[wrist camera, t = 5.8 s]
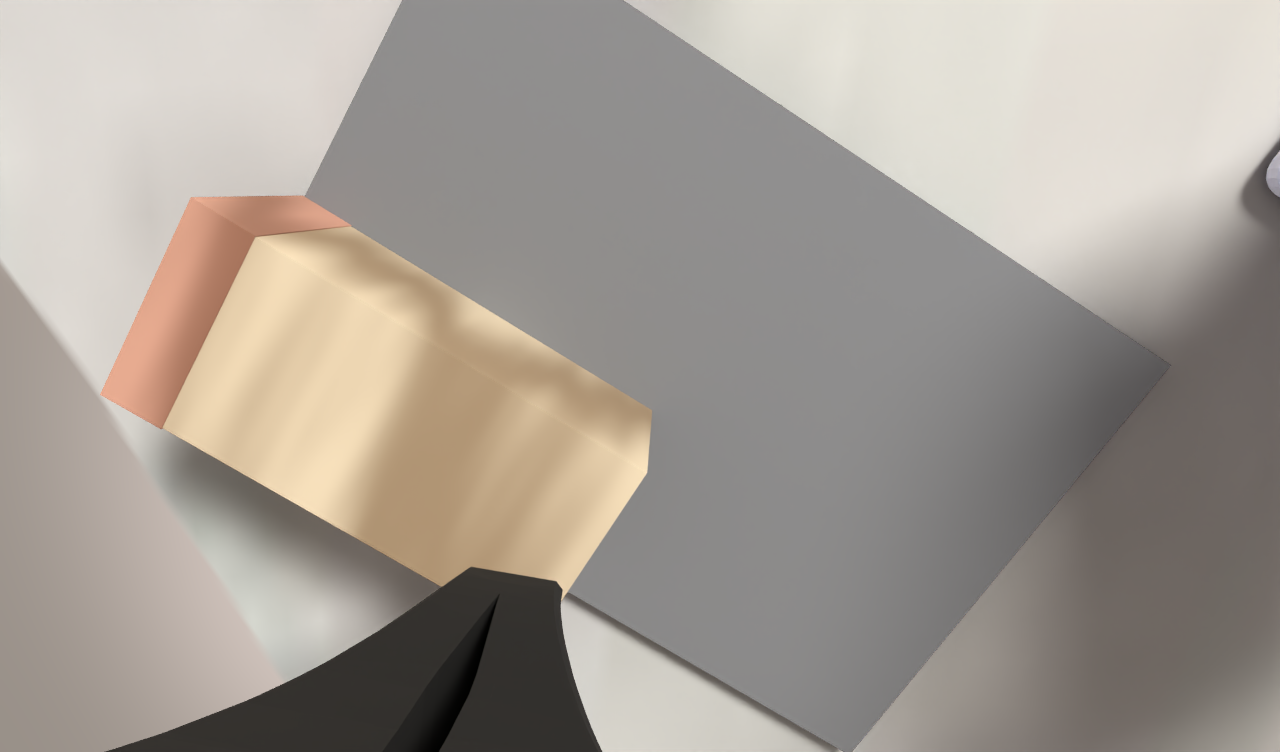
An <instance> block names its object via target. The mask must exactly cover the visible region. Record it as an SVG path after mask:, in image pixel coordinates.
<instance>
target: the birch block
mask: <svg viewBox="0 0 1280 752" xmlns="http://www.w3.org/2000/svg"><path fill="white" fill-rule="evenodd" d="M351 226H352V225H350V224H349V223H347V222H345V221H344V220H342V219H340V218H339V217H337V216H336V215H334V214H332V213H331V212H329V211H327V210H326V209H324V208H322V207H321V206H319V205H318V204H316V203H314V202H313V201H311V200H309V199H308V198H306V197H304V196H247V197H191V198H190V201H189V203H188V205H187V207H186V209H185V211H184V214H183V216H182V218H181V220H180V222H179V225H178V227H177V229H176V231H175V233H174V235H173V238H172V240H171V242H170V244H169V246H168V248H167V251H166V253H165V255H164V257H163V259H162V261H161V264H160V266H159V268H158V270H157V272H156V274H155V277H154V279H153V281H152V283H151V285H150V288H149V290H148V292H147V294H146V296H145V298H144V301H143V303H142V305H141V307H140V309H139V311H138V314H137V316H136V318H135V320H134V322H133V324H132V327H131V329H130V331H129V333H128V335H127V337H126V340H125V342H124V344H123V346H122V348H121V351H120V353H119V355H118V357H117V359H116V361H115V364H114V366H113V368H112V370H111V372H110V374H109V377H108V379H107V381H106V383H105V385H104V387H103V390H102V392H101V394H100V395H102V396H104V397H105V398H107V399H109V400H111V401H112V402H114V403H116V404H118V405H119V406H121V407H123V408H125V409H126V410H128V411H130V412H132V413H133V414H135V415H137V416H139V417H141V418H142V419H144V420H146V421H148V422H149V423H151V424H153V425H155V426H156V427H158V428H160V429H165V430H167V431H168V432H170V433H172V434H174V435H175V436H177V437H179V438H181V439H182V440H184V441H186V442H188V443H190V444H191V445H193V446H195V447H197V448H198V449H200V450H202V451H204V452H205V453H207V454H209V455H211V456H212V457H214V458H216V459H218V460H219V461H221V462H223V463H225V464H226V465H228V466H230V467H232V468H233V469H235V470H237V471H239V472H240V473H242V474H244V475H246V476H247V477H249V478H251V479H253V480H255V481H256V482H258V483H260V484H262V485H263V486H265V487H267V488H269V489H270V490H272V491H274V492H276V493H277V494H279V495H281V496H283V497H284V498H286V499H288V500H290V501H291V502H293V503H295V504H297V505H298V506H300V507H302V508H304V509H305V510H307V511H309V512H311V513H313V514H314V515H316V516H318V517H320V518H321V519H323V520H325V521H327V522H328V523H330V524H332V525H334V526H335V527H337V528H339V529H341V530H342V531H344V532H346V533H348V534H349V535H351V536H353V537H355V538H356V539H358V540H360V541H362V542H363V543H365V544H367V545H369V546H371V547H372V548H374V549H376V550H378V551H379V552H381V553H383V554H385V555H386V556H388V557H390V558H392V559H393V560H395V561H397V562H399V563H400V564H402V565H404V566H406V567H407V568H409V569H411V570H413V571H414V572H416V573H418V574H420V575H421V576H423V577H425V578H427V579H428V580H430V581H432V582H434V583H436V584H437V585H439V586H441V587H442V586H444V585H445V584H447V583H448V582H449V581H451V580H452V579H453V578H455V577H456V576H458V575H459V574H461V573H462V572H464V571H465V570H467V569H468V568H470V567H476V568H482V569H488V570H494V571H500V572H506V573H512V574H518V575H524V576H529V577H535V578H541V579H547V580H553V581H557V583H558V584H559V585H560V587H561V588H562V590H563V592H562V599H563V598H564V596H565V595H566V593H567V592H568V590H569V589H570V587H571V586H572V584H573V583H574V581H575V580H576V578H577V577H578V575H579V574H580V572H581V571H582V569H583V568H584V566H585V565H586V563H587V562H588V560H589V559H590V558H591V556H592V555H593V553H594V552H595V550H596V549H597V547H598V546H599V544H600V543H601V541H602V540H603V538H604V537H605V535H606V534H607V532H608V531H609V529H610V528H611V526H612V525H613V523H614V522H615V520H616V519H617V517H618V516H619V514H620V513H621V511H622V510H623V508H624V507H625V505H626V504H627V502H628V501H629V499H630V498H631V496H632V495H633V493H634V492H635V490H636V489H637V487H638V486H639V484H640V483H641V481H642V480H643V478H644V477H645V475H646V474H647V469H648V456H649V444H650V432H651V420H652V410H651V409H649V408H648V407H646V406H644V405H643V404H641V403H639V402H638V401H636V400H634V399H633V398H631V397H630V396H628V395H626V394H625V393H623V392H621V391H620V390H618V389H616V388H615V387H613V386H612V385H610V384H608V383H607V382H605V381H603V380H602V379H600V378H598V377H597V376H595V375H594V374H592V373H590V372H589V371H587V370H585V369H584V368H582V367H580V366H579V365H577V364H576V363H574V362H572V361H571V360H569V359H567V358H566V357H564V356H562V355H561V354H559V353H558V352H556V351H554V350H553V349H551V348H549V347H548V346H546V345H544V344H543V343H541V342H540V341H538V340H536V339H535V338H533V337H531V336H530V335H528V334H526V333H525V332H523V331H522V330H520V329H518V328H517V327H515V326H513V325H512V324H510V323H508V322H507V321H505V320H504V319H502V318H500V317H499V316H497V315H495V314H494V313H492V312H490V311H489V310H487V309H486V308H484V307H482V306H481V305H479V304H477V303H476V302H474V301H472V300H471V299H469V298H468V297H466V296H464V295H463V294H461V293H459V292H458V291H456V290H454V289H453V288H451V287H450V286H448V285H446V284H445V283H443V282H441V281H440V280H438V279H436V278H435V277H433V276H432V275H430V274H428V273H427V272H425V271H423V270H422V269H420V268H418V267H417V266H415V265H414V264H412V263H410V262H409V261H407V260H405V259H404V258H402V257H400V256H399V255H397V254H396V253H394V252H392V251H391V250H389V249H387V248H386V247H384V246H382V245H381V244H379V243H378V242H376V241H374V240H373V239H371V238H369V237H368V236H366V235H364V234H363V233H361V232H360V231H358V230H356V229H355V228H353V227H351ZM562 599H561V601H562Z"/></svg>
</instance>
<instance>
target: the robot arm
mask: <svg viewBox="0 0 1280 752" xmlns="http://www.w3.org/2000/svg"><path fill="white" fill-rule="evenodd" d="M1266 181H1267V184H1268V187H1269V189H1270V190H1271V191H1272V192H1273V193H1274V194H1275V195H1277V196H1278V197H1279V198H1280V151H1279V152H1278V153H1277V155H1276V156H1275V157H1274V158H1273V160H1272V161H1271V163H1270V165H1269V167H1268V169H1267V174H1266ZM562 592H563V590H562V588H561V587H560V585H559V584H558V583H557V581H553V580H547V579H541V578H535V577H529V576H524V575H518V574H512V573H506V572H500V571H494V570H488V569H482V568H476V567H470V568H468V569H467V570H465V571H464V572H462V573H461V574H459V575H458V576H456V577H455V578H453V579H452V580H451V581H449V582H448V583H447V584H445V585H444V586H442V587H441V588H440V589H438V590H437V591H436V592H434V593H433V594H431V595H430V596H429V597H427V598H426V599H424V600H423V601H422V602H420V603H419V604H417V605H416V606H415V607H413V608H412V609H410V610H409V611H407V612H406V613H404V614H403V615H401V616H400V617H398V618H397V619H396V620H394V621H393V622H391V623H390V624H388V625H387V626H385V627H384V628H382V629H381V630H379V631H378V632H376V633H374V634H373V635H371V636H369V637H368V638H366V639H364V640H363V641H361V642H359V643H358V644H356V645H354V646H353V647H351V648H349V649H348V650H346V651H344V652H343V653H341V654H339V655H338V656H336V657H334V658H333V659H331V660H329V661H327V662H326V663H324V664H322V665H320V666H318V667H316V668H314V669H312V670H310V671H308V672H307V673H305V674H303V675H301V676H299V677H297V678H295V679H293V680H290V681H288V682H286V683H284V684H282V685H280V686H278V687H276V688H274V689H271V690H269V691H267V692H265V693H263V694H261V695H259V696H256V697H254V698H252V699H249V700H247V701H245V702H242V703H240V704H237V705H235V706H232V707H229V708H227V709H224V710H222V711H219V712H217V713H214V714H211V715H209V716H206V717H204V718H201V719H199V720H196V721H193V722H191V723H188V724H186V725H183V726H180V727H178V728H175V729H173V730H170V731H168V732H165V733H162V734H159V735H156V736H153V737H150V738H147V739H144V740H141V741H138V742H134V743H131V744H128V745H125V746H122V747H119V748H116V749H113V750H109V751H106V752H602V750H601V748H600V746H599V744H598V742H597V740H596V737H595V735H594V733H593V730H592V728H591V725H590V723H589V720H588V718H587V715H586V713H585V710H584V707H583V704H582V701H581V698H580V696H579V693H578V690H577V687H576V683H575V680H574V677H573V673H572V669H571V665H570V661H569V657H568V653H567V649H566V645H565V640H564V635H563V628H562V620H561V599H562Z"/></svg>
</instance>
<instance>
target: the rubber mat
mask: <svg viewBox="0 0 1280 752" xmlns="http://www.w3.org/2000/svg"><path fill="white" fill-rule="evenodd" d="M305 197H306V198H308V199H309V200H311V201H313V202H314V203H316V204H318V205H319V206H321V207H322V208H324V209H326V210H327V211H329V212H331V213H332V214H334V215H336V216H337V217H339V218H340V219H342V220H344V221H345V222H347V223H349V224H350V225H352V226H351V227H353V228H355V229H356V230H358V231H360V232H361V233H363V234H364V235H366V236H368V237H369V238H371V239H373V240H374V241H376V242H378V243H379V244H381V245H382V246H384V247H386V248H387V249H389V250H391V251H392V252H394V253H396V254H397V255H399V256H400V257H402V258H404V259H405V260H407V261H409V262H410V263H412V264H414V265H415V266H417V267H418V268H420V269H422V270H423V271H425V272H427V273H428V274H430V275H432V276H433V277H435V278H436V279H438V280H440V281H441V282H443V283H445V284H446V285H448V286H450V287H451V288H453V289H454V290H456V291H458V292H459V293H461V294H463V295H464V296H466V297H468V298H469V299H471V300H472V301H474V302H476V303H477V304H479V305H481V306H482V307H484V308H486V309H487V310H489V311H490V312H492V313H494V314H495V315H497V316H499V317H500V318H502V319H504V320H505V321H507V322H508V323H510V324H512V325H513V326H515V327H517V328H518V329H520V330H522V331H523V332H525V333H526V334H528V335H530V336H531V337H533V338H535V339H536V340H538V341H540V342H541V343H543V344H544V345H546V346H548V347H549V348H551V349H553V350H554V351H556V352H558V353H559V354H561V355H562V356H564V357H566V358H567V359H569V360H571V361H572V362H574V363H576V364H577V365H579V366H580V367H582V368H584V369H585V370H587V371H589V372H590V373H592V374H594V375H595V376H597V377H598V378H600V379H602V380H603V381H605V382H607V383H608V384H610V385H612V386H613V387H615V388H616V389H618V390H620V391H621V392H623V393H625V394H626V395H628V396H630V397H631V398H633V399H634V400H636V401H638V402H639V403H641V404H643V405H644V406H646V407H648V408H649V409H651V410H652V420H651V432H650V444H649V456H648V469H647V474H646V475H645V477H644V478H643V480H642V481H641V483H640V484H639V486H638V487H637V489H636V490H635V492H634V493H633V495H632V496H631V498H630V499H629V501H628V502H627V504H626V505H625V507H624V508H623V510H622V511H621V513H620V514H619V516H618V517H617V519H616V520H615V522H614V523H613V525H612V526H611V528H610V529H609V531H608V532H607V534H606V535H605V537H604V538H603V540H602V541H601V543H600V544H599V546H598V547H597V549H596V550H595V552H594V553H593V555H592V556H591V558H590V559H589V560H588V562H587V563H586V565H585V566H584V568H583V569H582V571H581V572H580V574H579V575H578V577H577V578H576V580H575V581H574V583H573V584H572V586H571V587H570V589H569V590H568V592H569V593H570V594H572V595H574V596H576V597H577V598H579V599H581V600H583V601H584V602H586V603H588V604H589V605H591V606H593V607H595V608H596V609H598V610H600V611H602V612H603V613H605V614H607V615H608V616H610V617H612V618H614V619H615V620H617V621H619V622H620V623H622V624H624V625H626V626H627V627H629V628H631V629H633V630H634V631H636V632H638V633H639V634H641V635H643V636H645V637H646V638H648V639H650V640H652V641H653V642H655V643H657V644H658V645H660V646H662V647H664V648H665V649H667V650H669V651H670V652H672V653H674V654H676V655H677V656H679V657H681V658H683V659H684V660H686V661H688V662H689V663H691V664H693V665H695V666H696V667H698V668H700V669H701V670H703V671H705V672H707V673H708V674H710V675H712V676H714V677H715V678H717V679H719V680H720V681H722V682H724V683H726V684H727V685H729V686H731V687H733V688H734V689H736V690H738V691H739V692H741V693H743V694H745V695H746V696H748V697H750V698H751V699H753V700H755V701H757V702H758V703H760V704H762V705H764V706H765V707H767V708H769V709H770V710H772V711H774V712H776V713H777V714H779V715H781V716H783V717H784V718H786V719H788V720H789V721H791V722H793V723H795V724H796V725H798V726H800V727H801V728H803V729H805V730H807V731H808V732H810V733H812V734H814V735H815V736H817V737H819V738H820V739H822V740H824V741H826V742H827V743H829V744H831V745H833V746H834V747H836V748H838V749H839V750H841V751H843V752H852V751H853V750H854V749H855V748H856V747H857V745H858V744H859V743H860V742H861V741H862V739H863V738H864V737H865V736H866V734H867V733H868V732H869V731H870V730H871V728H872V727H873V726H874V725H875V724H876V722H877V721H878V720H879V719H880V717H881V716H882V715H883V714H884V713H885V711H886V710H887V709H888V708H889V707H890V705H891V704H892V703H893V702H894V701H895V699H896V698H897V697H898V696H899V694H900V693H901V692H902V691H903V690H904V688H905V687H906V686H907V685H908V684H909V682H910V681H911V680H912V679H913V677H914V676H915V675H916V674H917V673H918V671H919V670H920V669H921V668H922V667H923V665H924V664H925V663H926V662H927V661H928V659H929V658H930V657H931V656H932V654H933V653H934V652H935V651H936V650H937V648H938V647H939V646H940V645H941V644H942V642H943V641H944V640H945V639H946V637H947V636H948V635H949V634H950V633H951V631H952V630H953V629H954V628H955V627H956V625H957V624H958V623H959V622H960V620H961V619H962V618H963V617H964V616H965V614H966V613H967V612H968V611H969V610H970V608H971V607H972V606H973V605H974V604H975V602H976V601H977V600H978V599H979V597H980V596H981V595H982V594H983V593H984V591H985V590H986V589H987V588H988V587H989V585H990V584H991V583H992V582H993V580H994V579H995V578H996V577H997V576H998V574H999V573H1000V572H1001V571H1002V570H1003V568H1004V567H1005V566H1006V565H1007V564H1008V562H1009V561H1010V560H1011V559H1012V557H1013V556H1014V555H1015V554H1016V553H1017V551H1018V550H1019V549H1020V548H1021V547H1022V545H1023V544H1024V543H1025V542H1026V540H1027V539H1028V538H1029V537H1030V536H1031V534H1032V533H1033V532H1034V531H1035V530H1036V528H1037V527H1038V526H1039V525H1040V524H1041V522H1042V521H1043V520H1044V519H1045V517H1046V516H1047V515H1048V514H1049V513H1050V511H1051V510H1052V509H1053V508H1054V507H1055V505H1056V504H1057V503H1058V502H1059V500H1060V499H1061V498H1062V497H1063V496H1064V494H1065V493H1066V492H1067V491H1068V490H1069V488H1070V487H1071V486H1072V485H1073V483H1074V482H1075V481H1076V480H1077V479H1078V477H1079V476H1080V475H1081V474H1082V473H1083V471H1084V470H1085V469H1086V468H1087V467H1088V465H1089V464H1090V463H1091V462H1092V460H1093V459H1094V458H1095V457H1096V456H1097V454H1098V453H1099V452H1100V451H1101V450H1102V448H1103V447H1104V446H1105V445H1106V443H1107V442H1108V441H1109V440H1110V439H1111V437H1112V436H1113V435H1114V434H1115V433H1116V431H1117V430H1118V429H1119V428H1120V427H1121V425H1122V424H1123V423H1124V422H1125V420H1126V419H1127V418H1128V417H1129V416H1130V414H1131V413H1132V412H1133V411H1134V410H1135V408H1136V407H1137V406H1138V405H1139V403H1140V402H1141V401H1142V400H1143V399H1144V397H1145V396H1146V395H1147V394H1148V393H1149V391H1150V390H1151V389H1152V388H1153V387H1154V385H1155V384H1156V383H1157V382H1158V380H1159V379H1160V378H1161V377H1162V376H1163V374H1164V373H1165V372H1166V371H1167V370H1168V368H1169V367H1170V366H1171V365H1170V364H1169V363H1167V362H1166V361H1164V360H1163V359H1161V358H1160V357H1158V356H1157V355H1155V354H1154V353H1152V352H1151V351H1149V350H1148V349H1146V348H1145V347H1143V346H1142V345H1140V344H1139V343H1137V342H1136V341H1134V340H1133V339H1131V338H1129V337H1128V336H1126V335H1125V334H1123V333H1122V332H1120V331H1119V330H1117V329H1116V328H1114V327H1113V326H1111V325H1110V324H1108V323H1107V322H1105V321H1104V320H1102V319H1101V318H1099V317H1098V316H1096V315H1095V314H1093V313H1092V312H1090V311H1089V310H1087V309H1086V308H1084V307H1083V306H1081V305H1080V304H1078V303H1077V302H1075V301H1074V300H1072V299H1071V298H1069V297H1068V296H1066V295H1065V294H1063V293H1062V292H1060V291H1059V290H1057V289H1056V288H1054V287H1053V286H1051V285H1050V284H1048V283H1047V282H1045V281H1044V280H1042V279H1041V278H1039V277H1038V276H1036V275H1035V274H1033V273H1032V272H1030V271H1029V270H1027V269H1026V268H1024V267H1023V266H1021V265H1020V264H1018V263H1017V262H1015V261H1014V260H1012V259H1011V258H1009V257H1008V256H1006V255H1005V254H1003V253H1002V252H1000V251H999V250H997V249H996V248H994V247H993V246H991V245H990V244H988V243H987V242H985V241H984V240H982V239H981V238H979V237H978V236H976V235H975V234H973V233H972V232H970V231H969V230H967V229H966V228H964V227H963V226H961V225H960V224H958V223H957V222H955V221H954V220H952V219H951V218H949V217H948V216H946V215H945V214H943V213H942V212H940V211H939V210H937V209H936V208H934V207H933V206H931V205H930V204H928V203H927V202H925V201H924V200H922V199H921V198H919V197H918V196H916V195H915V194H913V193H912V192H910V191H909V190H907V189H906V188H904V187H903V186H901V185H900V184H898V183H897V182H895V181H894V180H892V179H891V178H889V177H888V176H886V175H885V174H883V173H882V172H880V171H879V170H877V169H876V168H874V167H873V166H871V165H870V164H868V163H867V162H865V161H864V160H862V159H861V158H859V157H858V156H856V155H855V154H853V153H852V152H850V151H849V150H847V149H846V148H844V147H843V146H841V145H840V144H838V143H837V142H835V141H834V140H832V139H831V138H829V137H828V136H826V135H825V134H823V133H822V132H820V131H819V130H817V129H816V128H814V127H813V126H811V125H810V124H808V123H807V122H805V121H804V120H802V119H801V118H799V117H798V116H796V115H795V114H793V113H792V112H790V111H789V110H787V109H786V108H784V107H783V106H781V105H780V104H778V103H777V102H775V101H774V100H772V99H771V98H769V97H768V96H766V95H765V94H763V93H762V92H760V91H759V90H757V89H756V88H754V87H753V86H751V85H750V84H748V83H747V82H745V81H744V80H742V79H741V78H739V77H738V76H736V75H735V74H733V73H732V72H730V71H729V70H727V69H726V68H724V67H723V66H721V65H720V64H718V63H717V62H715V61H714V60H712V59H711V58H709V57H708V56H706V55H705V54H703V53H702V52H700V51H699V50H697V49H696V48H694V47H693V46H691V45H690V44H688V43H687V42H685V41H684V40H682V39H681V38H679V37H678V36H676V35H675V34H673V33H672V32H670V31H669V30H667V29H666V28H664V27H663V26H661V25H660V24H658V23H657V22H655V21H654V20H652V19H651V18H649V17H648V16H646V15H645V14H643V13H642V12H640V11H639V10H637V9H636V8H634V7H633V6H631V5H630V4H628V3H627V2H625V1H624V0H402V2H401V4H400V6H399V8H398V10H397V12H396V14H395V16H394V18H393V20H392V22H391V24H390V26H389V28H388V30H387V32H386V34H385V36H384V38H383V40H382V42H381V44H380V46H379V48H378V50H377V52H376V54H375V56H374V58H373V60H372V62H371V64H370V66H369V68H368V70H367V72H366V74H365V76H364V78H363V80H362V82H361V84H360V86H359V88H358V90H357V92H356V94H355V96H354V98H353V100H352V102H351V104H350V106H349V108H348V110H347V112H346V114H345V117H344V119H343V121H342V123H341V125H340V127H339V129H338V131H337V133H336V135H335V137H334V139H333V141H332V143H331V145H330V147H329V149H328V151H327V153H326V155H325V157H324V159H323V161H322V163H321V165H320V167H319V169H318V171H317V173H316V175H315V177H314V179H313V181H312V183H311V185H310V187H309V189H308V191H307V193H306V195H305Z"/></svg>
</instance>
